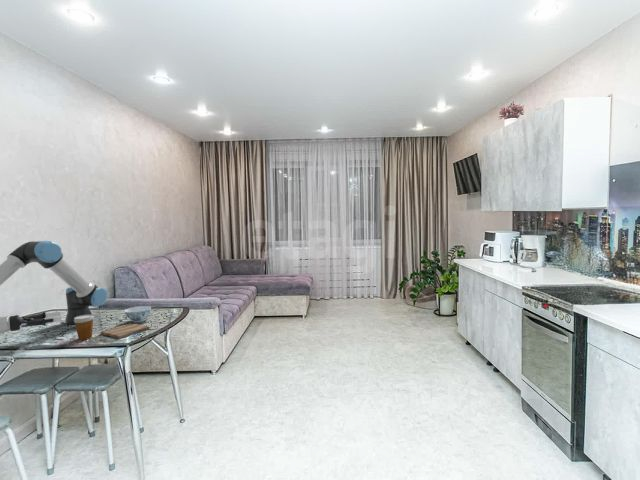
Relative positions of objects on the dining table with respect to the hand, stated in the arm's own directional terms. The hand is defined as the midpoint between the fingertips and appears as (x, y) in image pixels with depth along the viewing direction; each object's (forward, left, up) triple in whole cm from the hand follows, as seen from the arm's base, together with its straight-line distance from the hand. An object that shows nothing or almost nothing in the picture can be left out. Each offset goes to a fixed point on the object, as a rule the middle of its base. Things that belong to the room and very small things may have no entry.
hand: (60, 316), depth 204 cm
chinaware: (0, +43, -15) cm, 46 cm away
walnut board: (+14, +26, -14) cm, 33 cm away
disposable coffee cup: (+4, +9, -15) cm, 18 cm away
